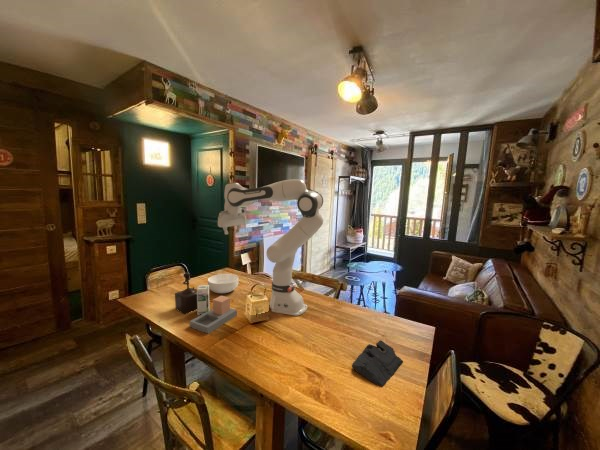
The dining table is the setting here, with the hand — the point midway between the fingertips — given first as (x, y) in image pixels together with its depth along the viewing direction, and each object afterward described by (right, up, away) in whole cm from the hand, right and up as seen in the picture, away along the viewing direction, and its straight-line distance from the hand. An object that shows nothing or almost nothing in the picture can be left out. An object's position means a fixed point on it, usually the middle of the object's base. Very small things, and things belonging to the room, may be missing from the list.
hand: (232, 233), depth 147 cm
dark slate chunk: (+71, -51, -49) cm, 100 cm away
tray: (-3, -44, -22) cm, 49 cm away
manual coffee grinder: (-24, -42, -7) cm, 49 cm away
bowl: (-11, -39, +17) cm, 44 cm away
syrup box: (-12, -43, -13) cm, 46 cm away
